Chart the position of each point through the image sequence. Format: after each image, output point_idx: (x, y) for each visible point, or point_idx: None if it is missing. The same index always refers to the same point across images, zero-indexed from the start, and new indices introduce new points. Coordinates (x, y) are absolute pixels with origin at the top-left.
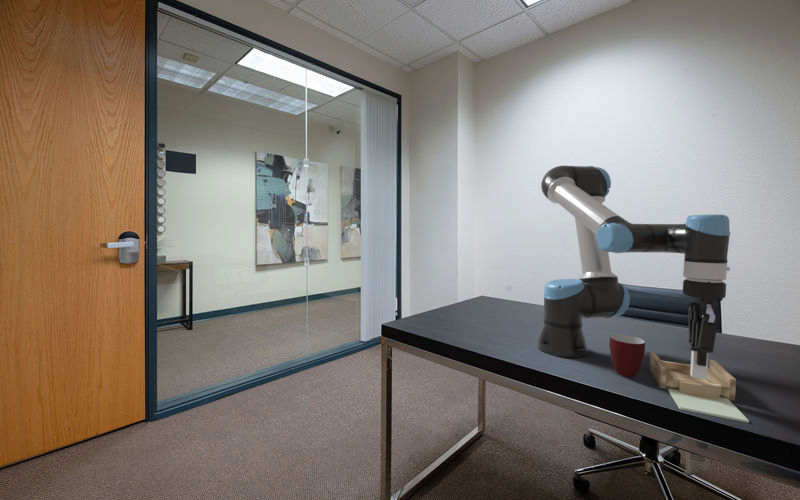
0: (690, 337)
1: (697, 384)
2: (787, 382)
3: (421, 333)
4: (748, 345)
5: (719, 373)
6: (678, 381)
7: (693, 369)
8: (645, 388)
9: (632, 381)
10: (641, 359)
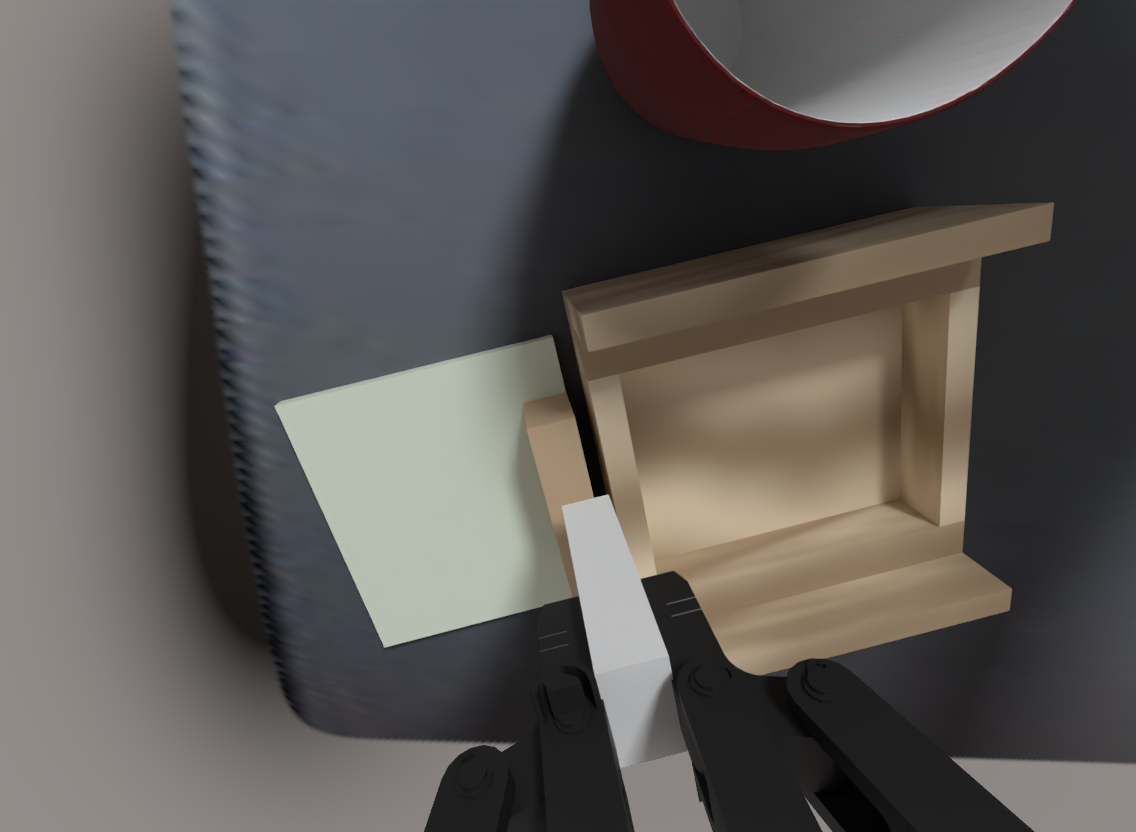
0: (828, 742)
1: (557, 509)
2: (1020, 747)
3: None
4: None
5: (811, 612)
6: (592, 405)
7: (570, 544)
8: (473, 203)
9: (552, 104)
10: (688, 134)
